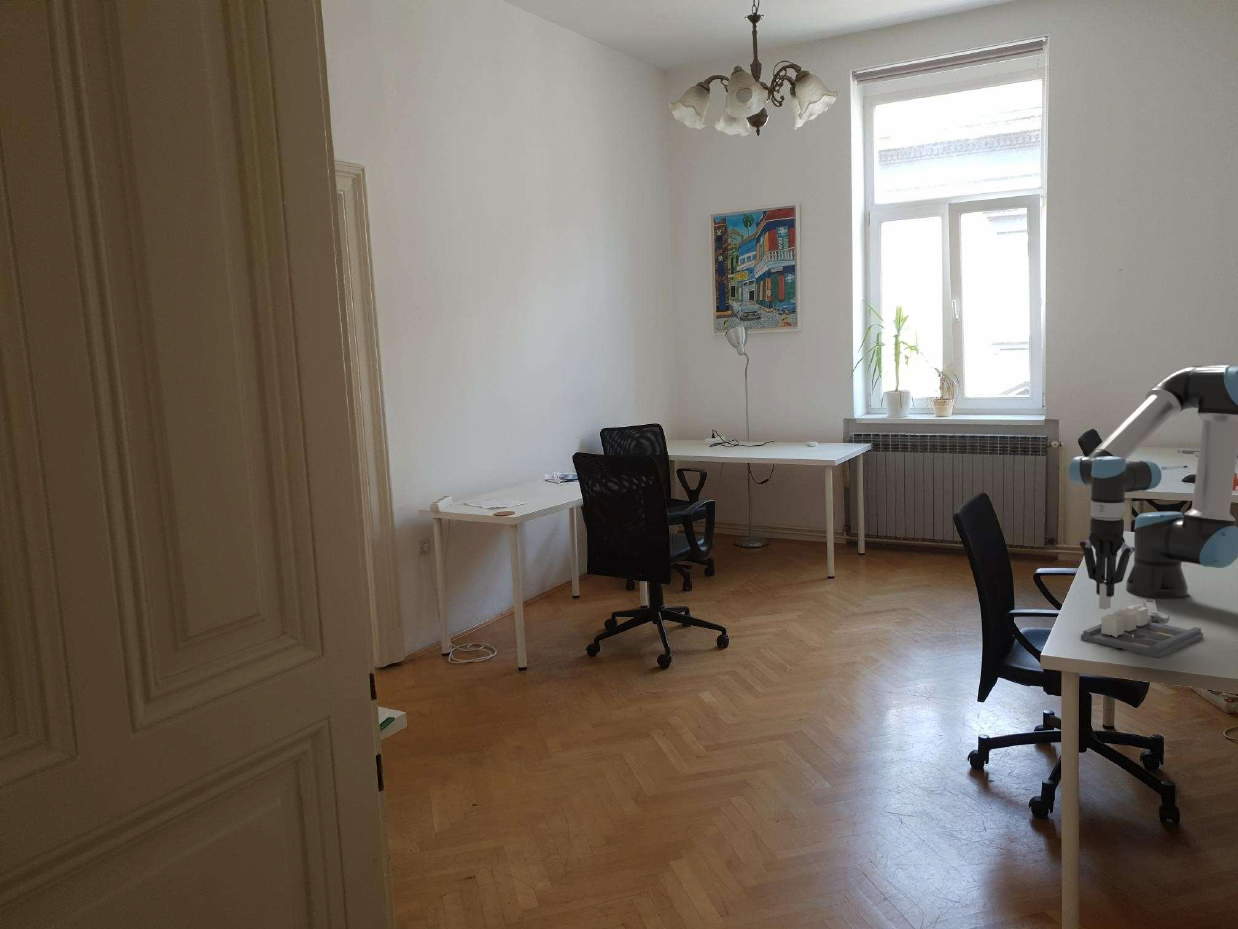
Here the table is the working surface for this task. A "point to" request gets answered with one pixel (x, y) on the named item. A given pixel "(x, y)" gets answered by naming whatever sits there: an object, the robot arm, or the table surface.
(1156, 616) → the adjustable wrench
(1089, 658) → the table surface
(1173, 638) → the switch bank
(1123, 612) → the white slider knob
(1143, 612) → the white notched block
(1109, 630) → the white ridged block
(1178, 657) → the table surface
